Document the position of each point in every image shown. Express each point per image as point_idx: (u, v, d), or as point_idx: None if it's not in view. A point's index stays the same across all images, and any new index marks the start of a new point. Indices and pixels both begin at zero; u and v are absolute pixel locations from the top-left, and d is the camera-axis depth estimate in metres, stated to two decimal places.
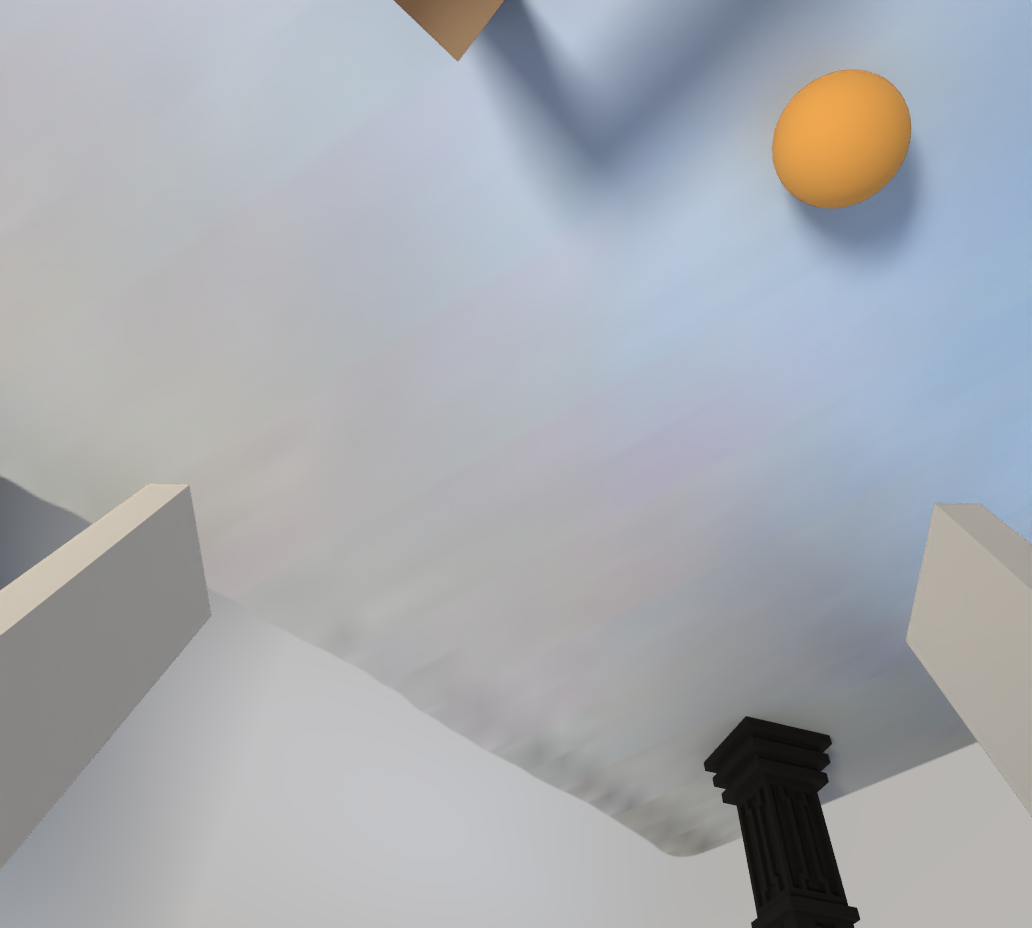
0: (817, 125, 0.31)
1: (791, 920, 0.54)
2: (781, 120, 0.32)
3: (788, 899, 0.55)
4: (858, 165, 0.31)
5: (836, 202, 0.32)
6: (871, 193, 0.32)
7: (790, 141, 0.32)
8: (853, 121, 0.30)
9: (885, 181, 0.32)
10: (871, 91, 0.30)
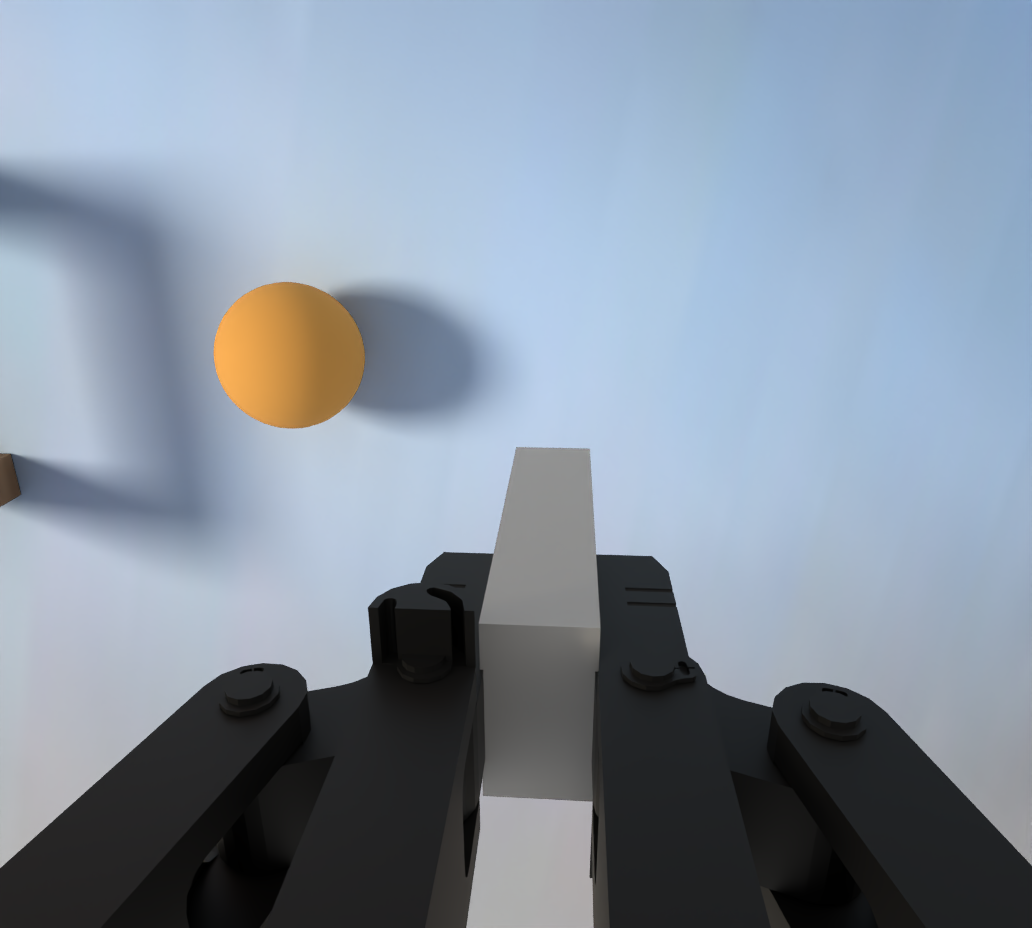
0: (220, 375, 0.27)
1: None
2: None
3: None
4: (268, 377, 0.26)
5: (312, 410, 0.28)
6: (329, 378, 0.27)
7: (231, 399, 0.28)
8: (230, 350, 0.26)
9: (326, 360, 0.27)
10: (234, 312, 0.27)
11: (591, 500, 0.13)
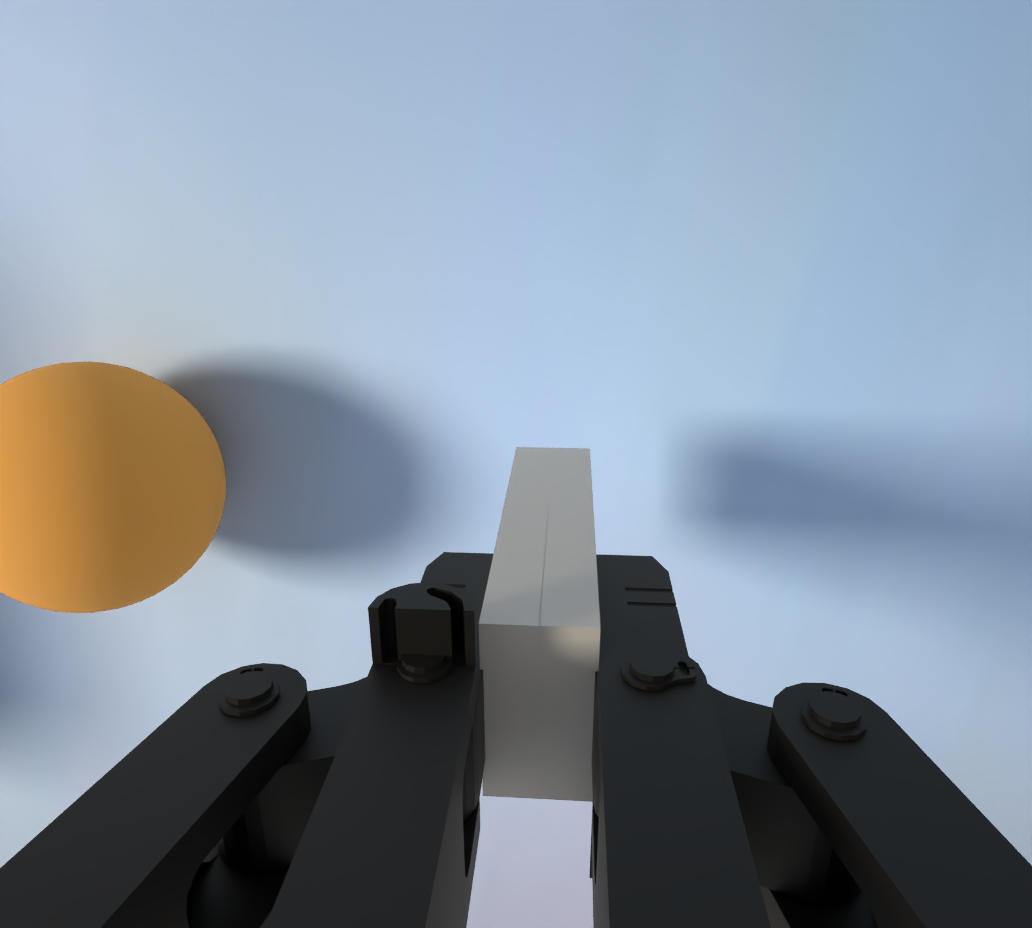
0: None
1: None
2: None
3: None
4: (16, 548, 0.14)
5: (114, 593, 0.15)
6: (138, 541, 0.15)
7: None
8: None
9: (129, 511, 0.15)
10: None
11: (591, 500, 0.13)
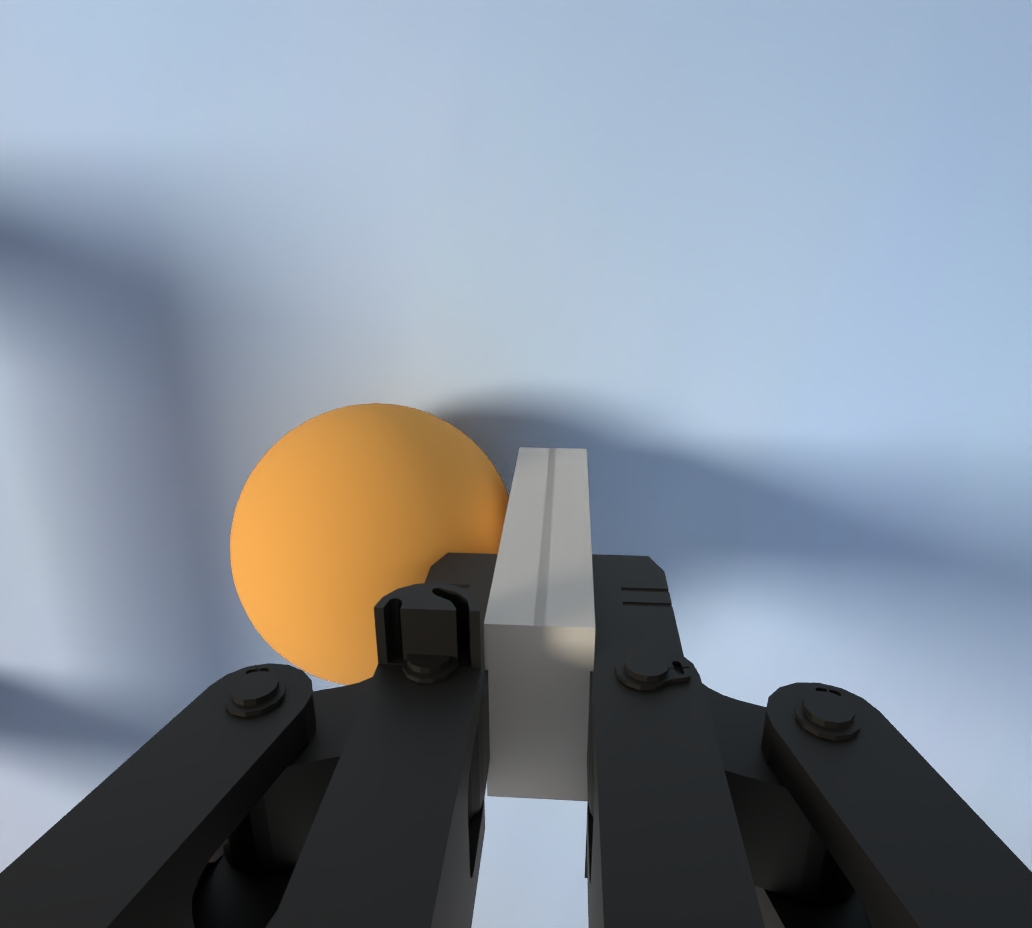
0: (234, 581, 0.14)
1: None
2: None
3: None
4: (303, 620, 0.13)
5: None
6: None
7: None
8: (243, 548, 0.13)
9: None
10: (265, 469, 0.13)
11: (587, 500, 0.13)
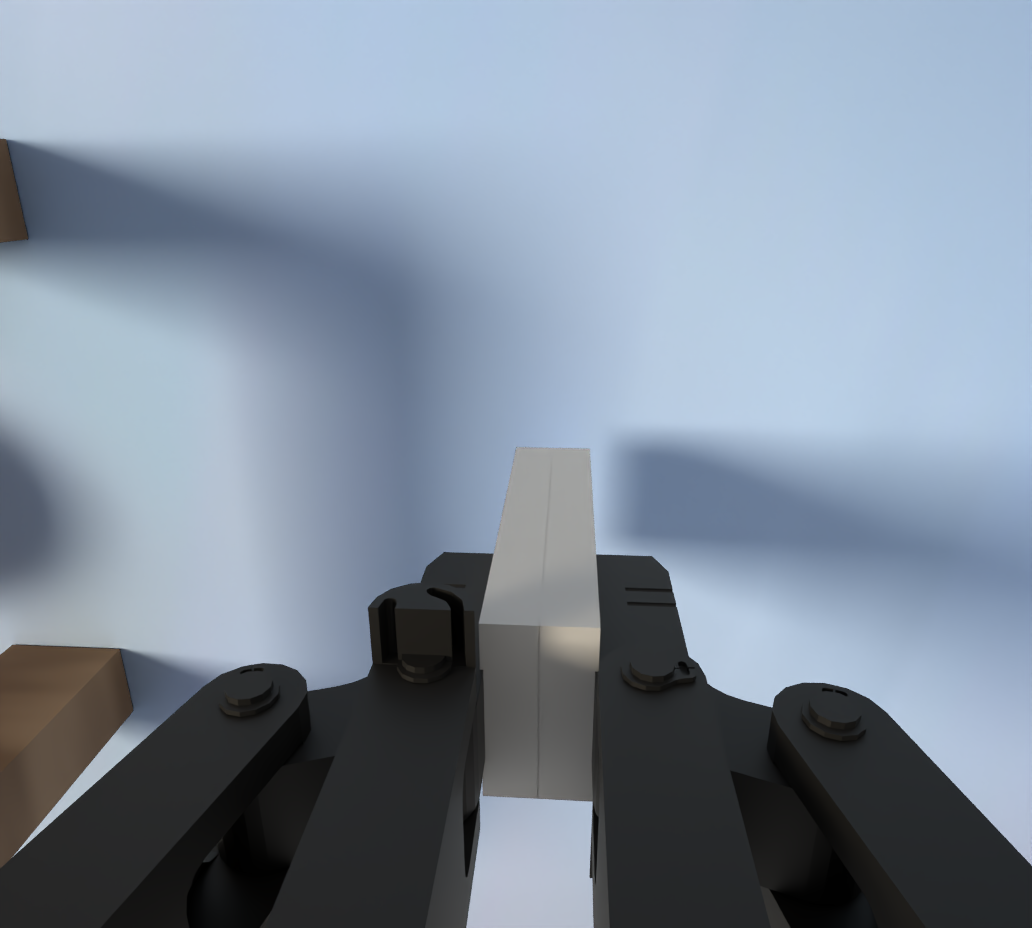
0: None
1: None
2: None
3: None
4: None
5: None
6: None
7: None
8: None
9: None
10: None
11: (591, 500, 0.13)
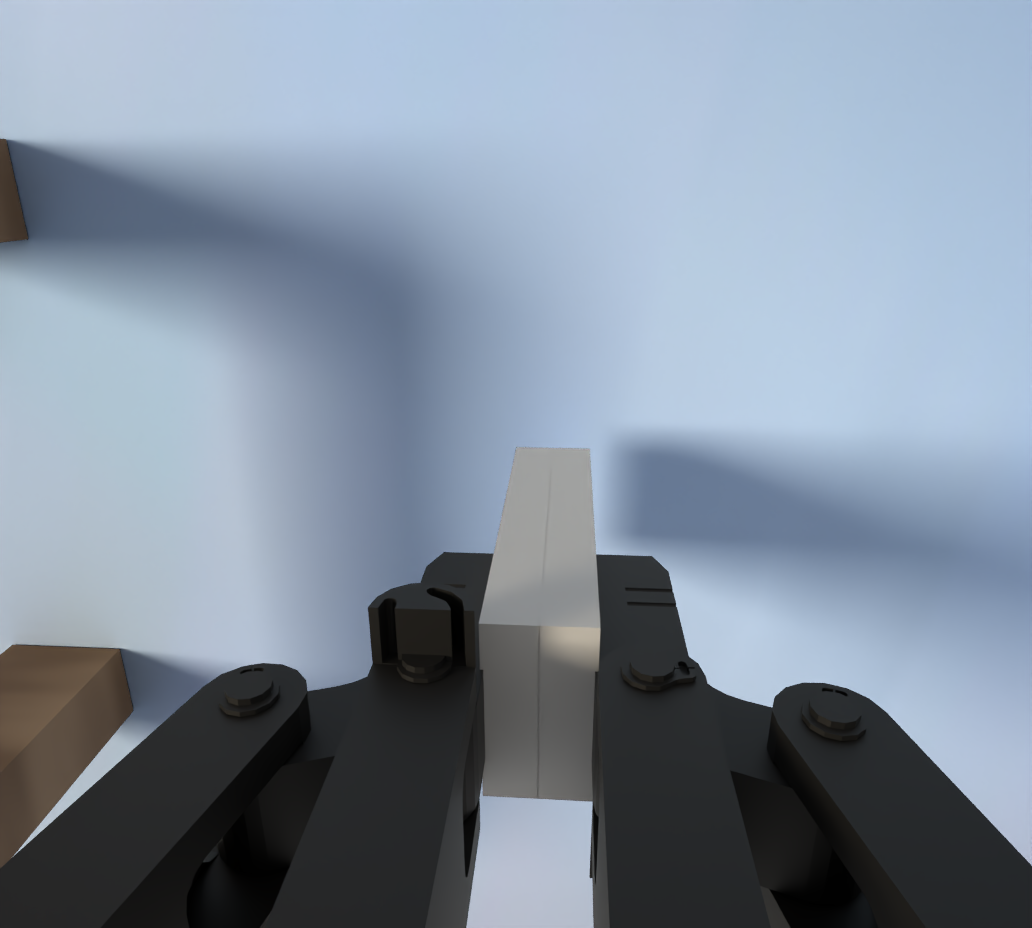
0: None
1: None
2: None
3: None
4: None
5: None
6: None
7: None
8: None
9: None
10: None
11: (591, 500, 0.13)
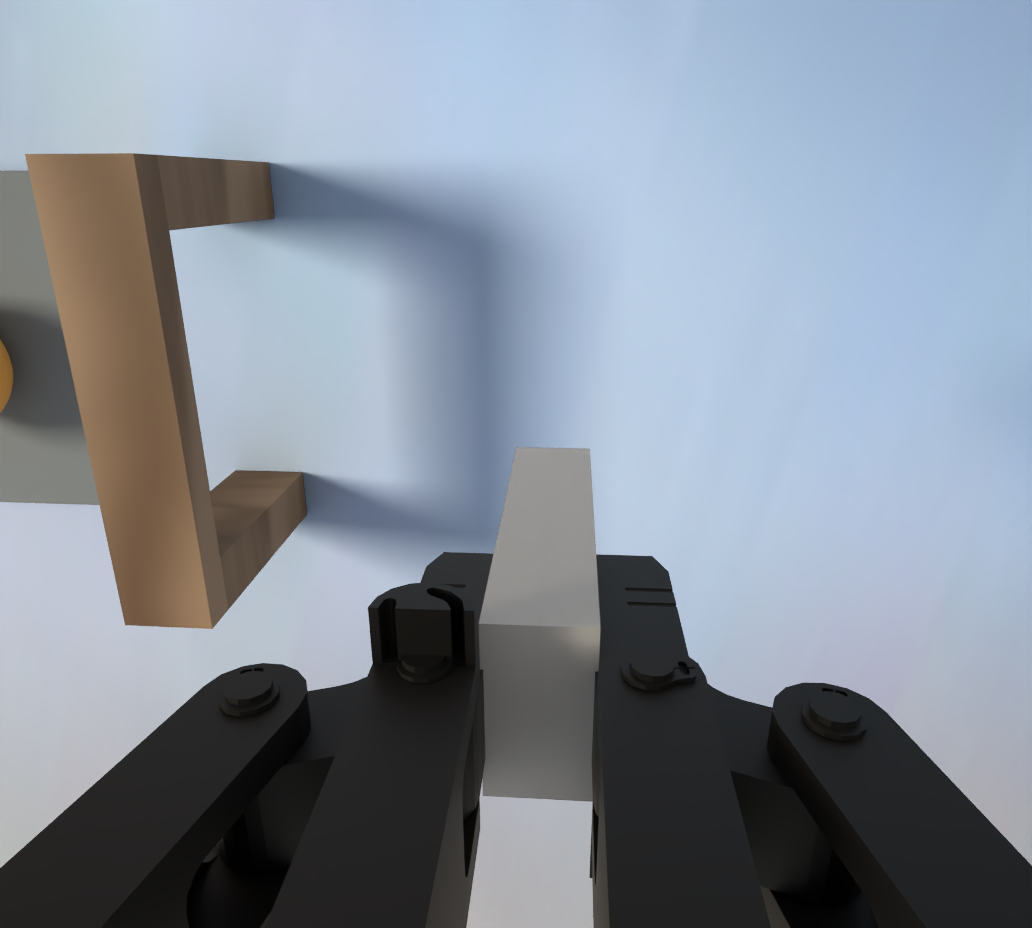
0: (12, 368, 0.31)
1: None
2: None
3: None
4: None
5: None
6: None
7: (8, 398, 0.31)
8: None
9: None
10: None
11: (591, 500, 0.13)
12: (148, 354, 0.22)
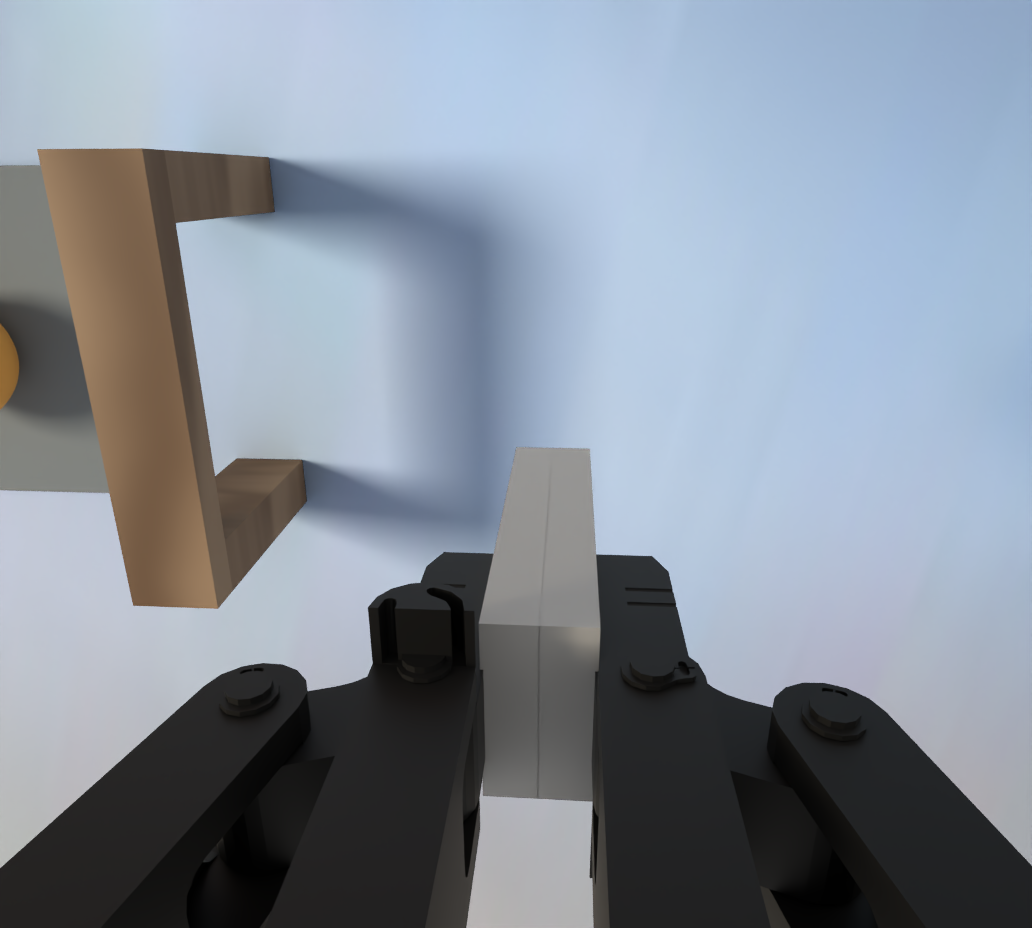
0: (18, 359, 0.32)
1: None
2: None
3: None
4: None
5: None
6: None
7: (14, 388, 0.32)
8: None
9: None
10: None
11: (591, 500, 0.13)
12: (156, 342, 0.23)
